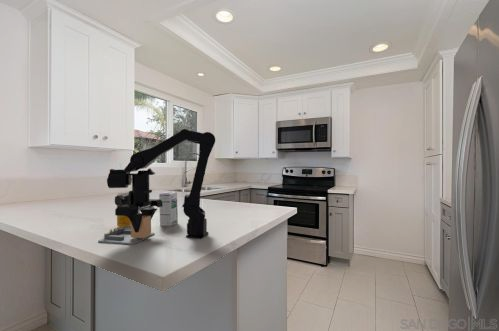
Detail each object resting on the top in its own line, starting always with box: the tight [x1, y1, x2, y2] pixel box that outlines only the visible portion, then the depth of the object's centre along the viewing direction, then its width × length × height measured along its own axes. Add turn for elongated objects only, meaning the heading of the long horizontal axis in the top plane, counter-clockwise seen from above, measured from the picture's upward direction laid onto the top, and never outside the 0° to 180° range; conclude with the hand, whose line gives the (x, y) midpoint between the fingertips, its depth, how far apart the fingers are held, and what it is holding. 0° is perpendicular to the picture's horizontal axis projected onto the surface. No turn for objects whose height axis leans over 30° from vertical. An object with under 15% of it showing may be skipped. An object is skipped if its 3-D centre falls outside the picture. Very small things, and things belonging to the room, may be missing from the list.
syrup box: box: [158, 191, 179, 227], centre depth 106 cm, size 6×6×14 cm
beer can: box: [116, 191, 131, 229], centre depth 103 cm, size 6×6×15 cm
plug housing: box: [130, 215, 152, 238], centre depth 85 cm, size 5×5×7 cm
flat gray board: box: [97, 226, 156, 246], centre depth 87 cm, size 14×12×3 cm
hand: (141, 230), depth 85 cm, fingers closed on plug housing, 4 cm apart
